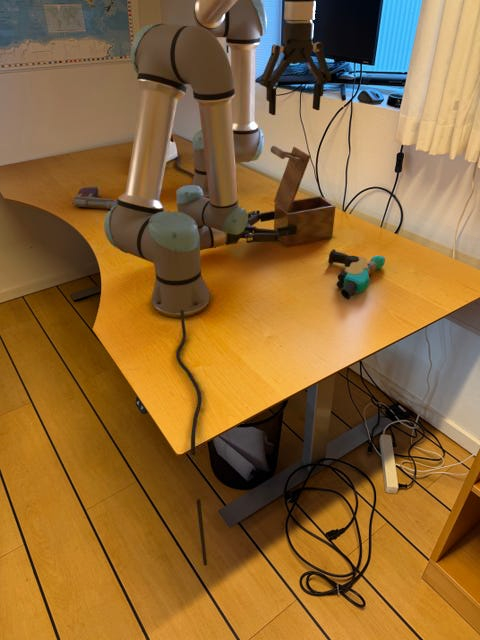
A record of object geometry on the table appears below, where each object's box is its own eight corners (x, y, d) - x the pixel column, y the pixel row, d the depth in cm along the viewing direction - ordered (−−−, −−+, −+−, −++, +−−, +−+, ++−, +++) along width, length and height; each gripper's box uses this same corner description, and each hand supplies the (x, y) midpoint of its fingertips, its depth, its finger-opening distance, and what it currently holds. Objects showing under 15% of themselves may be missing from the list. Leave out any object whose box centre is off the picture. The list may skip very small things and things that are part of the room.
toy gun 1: (130, 197, 185) (114, 212, 174) (86, 194, 188) (67, 209, 177) (128, 187, 183) (112, 202, 171) (84, 184, 186) (65, 199, 174)
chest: (317, 225, 163) (320, 195, 156) (332, 237, 156) (335, 206, 149) (273, 234, 158) (274, 203, 151) (286, 246, 151) (287, 214, 144)
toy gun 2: (307, 279, 125) (363, 294, 119) (338, 241, 143) (388, 251, 138) (306, 294, 127) (360, 308, 122) (336, 254, 146) (385, 265, 140)
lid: (295, 147, 143) (270, 140, 139) (310, 156, 136) (285, 148, 132) (275, 202, 151) (251, 197, 147) (289, 213, 144) (264, 208, 140)
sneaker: (133, 173, 208) (129, 144, 201) (161, 153, 230) (158, 127, 223) (155, 175, 205) (151, 146, 198) (180, 155, 227) (178, 129, 220)
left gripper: (211, 229, 156) (271, 218, 162) (237, 261, 138) (304, 248, 144) (210, 207, 152) (271, 197, 158) (237, 238, 134) (305, 225, 140)
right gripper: (334, 18, 126) (326, 104, 138) (247, 22, 119) (247, 113, 131) (349, 20, 120) (340, 110, 133) (259, 24, 113) (258, 119, 125)
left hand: (287, 221), depth 151 cm, fingers open, 11 cm apart
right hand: (294, 111), depth 132 cm, fingers open, 13 cm apart
